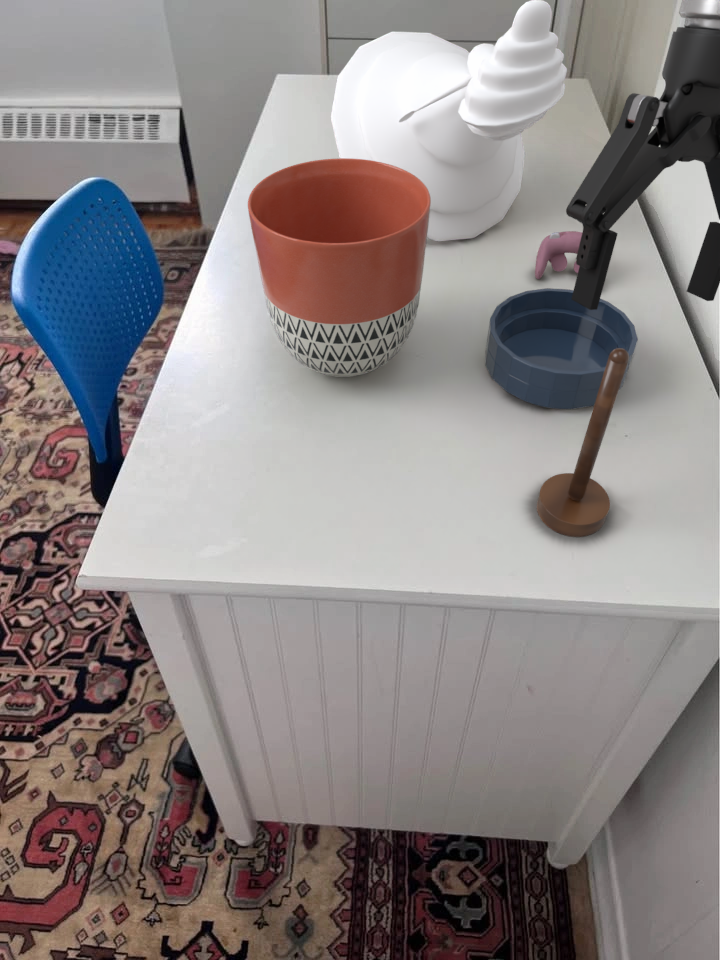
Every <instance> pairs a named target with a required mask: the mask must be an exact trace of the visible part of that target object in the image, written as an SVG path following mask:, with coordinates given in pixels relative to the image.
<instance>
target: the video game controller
mask: <svg viewBox="0 0 720 960" xmlns="http://www.w3.org/2000/svg"><path fill="white" fill-rule="evenodd" d="M582 232H583V231H575V230H571V231H570V230H566V231H560V232H559V231H558V232H553V233H551V234H549V235H547V236H545V237H544V238H543V240H542V241H541V243H540V244H539V247H538V250H537V253H536V260H535V269H534V277H535V278H536V279H537V280H540V279H541V278H542V277H543V275H544V273H545V271H546V269H547V265H548V263H549V262H550V264H551V265H550V266H551V268H552V269H553V270H554V271H555V272H563V271H565V270H566V268H567V267H568V258H567V257H566V255H565V254H575V255H577V253H578V249H579V245H580V240H581V236H582ZM579 267H580V266H579V265H577V264H576V260H575V261H574V263H573V270H574V272H575V273H576V274H577V275H578V271H579Z"/></svg>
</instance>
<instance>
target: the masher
mask: <svg viewBox="0 0 720 960" xmlns="http://www.w3.org/2000/svg"><path fill="white" fill-rule="evenodd" d="M628 361H629V354H628V352H627V351H626V350H625V349H623V348H616V349H614V350H613V351H612V352H611V353H610V355H609V358H608V361H607V364H606V368H605V371H604V374H603V378H602V381H601V384H600V388H599V391H598V394H597V398H596V401H595V404H594V405H593V408H592V411H591V415H590V417H589V421H588V424H587V428H586V431H585V434H584V437H583V441H582V444H581V448H580V451H579V454H578V458H577V460H576V465H575V468H574V470H573V472H572V473H571V472H565V473H557V474H555V475H553V476H550V477H549V478H548V479H546V480H545V481H544V482H543V484H542V485H541V487H540V490H539V494H538V498H537V501H536V512H537V515H538V517H539V519H540V520H541V522H542V523H543V524H544V525H545V526H546V527H547V528H549V529H550V530H551V531H553V532H555V533H558V534H560V535H563V536H567V537H572V538H583V537H587V536H591V535H593V534H595V533H597V532H599V530H601V528H602V527H603V526H604V524H605V522H606V519H607V517H608V513H609V512H610V507H611V500H610V496H609V494H608V492H607V491H606V490H605V488H604V487H603V486H602V485H601V484H600V483H598V482H597V481H596V480H594V479H593V478H591V477H592V473H593V470H594V467H595V464H596V461H597V458H598V455H599V452H600V450H601V449H600V448H601V445H602V442H603V440H604V437H605V433H606V432H607V431H606V430H607V428H608V424H609V422H610V419H611V415H612V412H613V410H614V406H615V403H616V400H617V398H618V393H619V391H620V390H619V388H620V385H621V382H622V379H623V376H624V373H625V370H626V367H627V364H628Z"/></svg>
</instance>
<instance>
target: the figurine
mask: <svg viewBox="0 0 720 960" xmlns="http://www.w3.org/2000/svg"><path fill="white" fill-rule="evenodd" d="M552 17H553V10H552V6H551V5H550V4H549V3H548V2H547V1H545V0H528V1H525V2H524V4H522V5H521V6H520V7H519V8H518V9H517V11H516V13H515V15H514V17H513V21H512V25H511V27H510V28H509V29H508V30H507V31H506V32H505V33H504V34H503V35H501V36H500V37H499V38H498V39H497V40H496V42H495V44H492V43H486V42H485V43H480V44H477V45H475V46H474V47H473V48H472V50H471V51H470V52H469V51H468V50H467V49H466V48H464V47H462V46H460V45H458V44H455V43H453V42H450V41H449V40H447V39H444V38H442V37H440V36H437V35H436V34H433V33H431V32H422V31H421V32H419V31H417V32H415V31H389V32H388V33H385V34H383V35H381V36H379V37H378V38H375V39H373V40H371V41H369V42H366V43H364V44H362V45H360V46H358V48H357V49H356V50H355V52H354V53H353V55H352V56H351V57H350V58H349V60H348V61H347V63H346V64H345V66H344V67H343V68H342V69H341V71H340V72H339V74H338V75H337V80H336V84H335V89H334V96H333V102H332V108H331V113H330V120H331V125H332V129H333V135H334V140H335V143H336V148H337V153H338V157H339V158H349V159H363V160H371V161H377V162H382V163H386V164H389V165H393V166H396V167H398V168H401V169H403V170H405V171H407V172H409V173H411V174H413V175H414V176H416V177H417V178H418V179H420V180H421V181H422V182H423V183H424V184H425V186H426V187H427V189H428V191H429V193H430V197H431V205H430V216H429V226H428V233H427V239H429V240H431V241H436V242H445V241H446V242H447V241H457V240H458V241H459V240H466V239H467V240H468V239H469V240H470V239H474V238H476V237H478V236H479V235H480V234H483V233H484V232H486V231H488V230H489V229H490V228H492V227H494V226H495V225H497V224H498V223H500V222H501V221H503V220H504V218H505V216H506V215H507V214H508V211H509V210H510V208H511V206H512V205H513V203H514V201H515V200H516V198H517V196H518V195H519V193H520V192H521V188H522V179H523V173H524V164H525V158H526V150H525V147H524V146H525V145H524V142H523V141H524V140H523V136H522V133H523V132H524V131H525V130H527V129H530V128H531V127H532V126H534V124H537V123H538V122H539V121H541V120H542V119H543V118H544V117H545V116H546V114H547V112H548V111H549V110H551V109H552V108H554V107H555V106H556V105H557V103H558V102H559V101H560V100H561V98H562V97H564V95H565V89H566V84H565V80H566V76H567V73H568V68H567V67H566V66H565V64H564V63H563V61H564V59H565V54H564V53H563V52H562V51H561V49H560V48H557V47H558V44H559V36H558V35H557V34H556V33H555V32H552V31H550V29H551V25H552V19H553V18H552Z"/></svg>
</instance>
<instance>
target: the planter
mask: <svg viewBox="0 0 720 960" xmlns="http://www.w3.org/2000/svg"><path fill="white" fill-rule="evenodd" d="M430 205H431V197H430V193H429V191H428V189H427V187H426V186H425V184H424V183H423V182H422V181H421V180H420V179H418V178H417V177H416V176H414V175H413V174H411V173H409V172H407V171H405V170H403V169H401V168H398V167H396V166H393V165H389V164H386V163H382V162H377V161H371V160H363V159H349V158H340V157H339V158H325V159H323V158H322V159H317V160H316V159H315V160H310V161H304V162H301V163H297V164H293V165H290V166H287V167H284V168H282V169H280V170H277V171H275V172H273V173H271V174H269V175H268V176H266V177H265V178H263V179H262V180H260V181H259V182H258V183H257V184H256V185H255V187H253V188H252V190H251V192H250V193H249V196H248V200H247V210H248V216H249V222H250V229H251V234H252V238H253V243H254V247H255V253H256V258H257V264H258V269H259V274H260V275H259V276H260V279H261V280H260V281H261V285H262V290H263V295H264V300H265V305H266V309H267V313H268V317H269V321H270V322H271V325H272V328H273V330H274V332H275V334H276V336H277V338H278V340H279V341H280V343H281V345H282V346H283V348H284V349H285V350H286V352H288V353H289V355H290V356H291V357H292V358H293V359H295V360H296V361H297V362H299V363H300V364H301V365H303V366H304V367H306V368H307V369H310V370H312V371H314V372H317V373H318V374H323V375H326V376H331V377H339V378H343V377H345V378H348V377H356V376H360V375H364V374H367V373H370V372H372V371H375V370H376V369H378V368H380V367H383V365H385V364H386V363H388V362H389V361H390V360H392V359H393V357H395V356H396V355H397V354H398V353H399V351H401V349H402V348H403V346H404V345H405V344H406V342H407V340H408V339H409V336H410V334H411V331H412V329H413V327H414V324H415V321H416V318H417V315H418V310H419V305H420V297H421V290H422V289H421V288H422V282H423V276H424V275H423V273H424V267H425V256H426V248H427V239H428V238H427V233H428V226H429V216H430Z"/></svg>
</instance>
